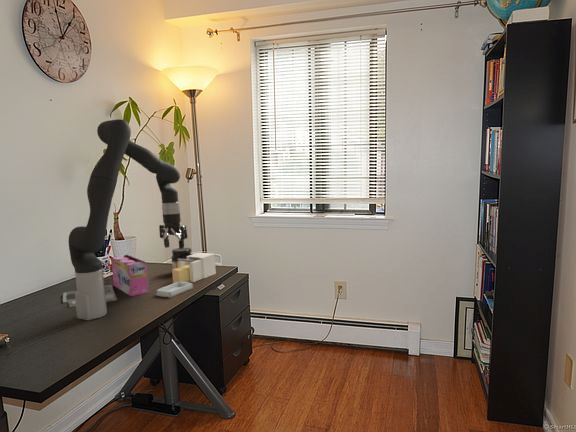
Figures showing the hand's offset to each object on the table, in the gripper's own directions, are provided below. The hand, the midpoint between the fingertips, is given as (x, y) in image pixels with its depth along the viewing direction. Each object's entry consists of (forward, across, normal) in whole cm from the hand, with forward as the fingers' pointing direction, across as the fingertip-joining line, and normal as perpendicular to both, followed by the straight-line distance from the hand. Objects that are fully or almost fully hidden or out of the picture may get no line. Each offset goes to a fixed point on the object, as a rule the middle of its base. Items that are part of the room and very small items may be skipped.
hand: (174, 247), depth 194 cm
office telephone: (+17, -24, -28) cm, 41 cm away
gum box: (+17, -15, -13) cm, 27 cm away
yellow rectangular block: (+17, 0, +4) cm, 18 cm away
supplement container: (+18, -12, +18) cm, 28 cm away
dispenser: (+17, 0, +13) cm, 21 cm away
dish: (+17, +7, -9) cm, 21 cm away
